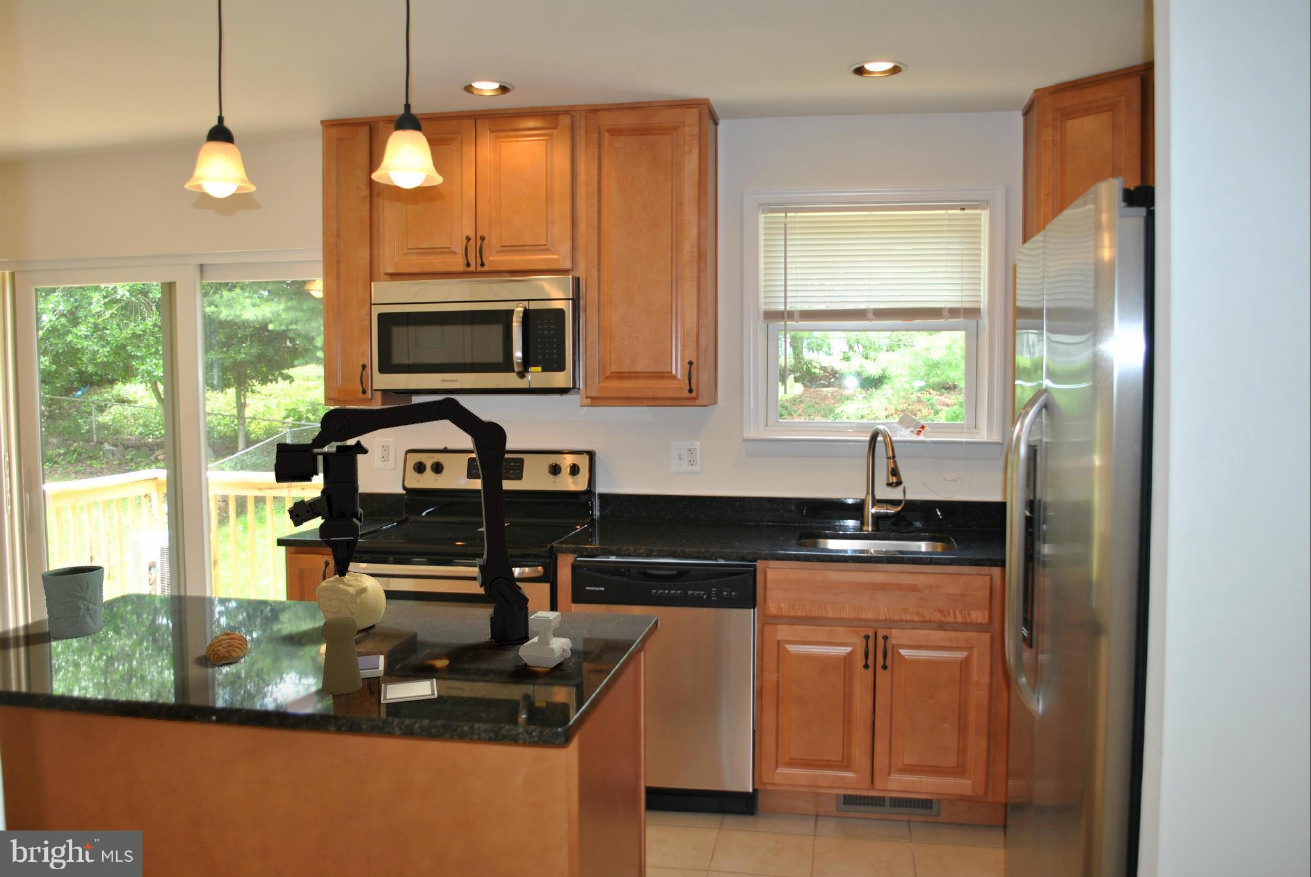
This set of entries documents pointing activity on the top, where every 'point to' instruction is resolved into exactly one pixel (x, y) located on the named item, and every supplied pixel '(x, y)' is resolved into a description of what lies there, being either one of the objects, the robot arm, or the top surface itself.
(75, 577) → the grey cup
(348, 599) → the sculpture
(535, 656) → the stamp
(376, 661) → the ink pad
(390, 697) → the white flat square piece
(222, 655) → the pastry
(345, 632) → the brown peg figure
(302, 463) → the robot arm
